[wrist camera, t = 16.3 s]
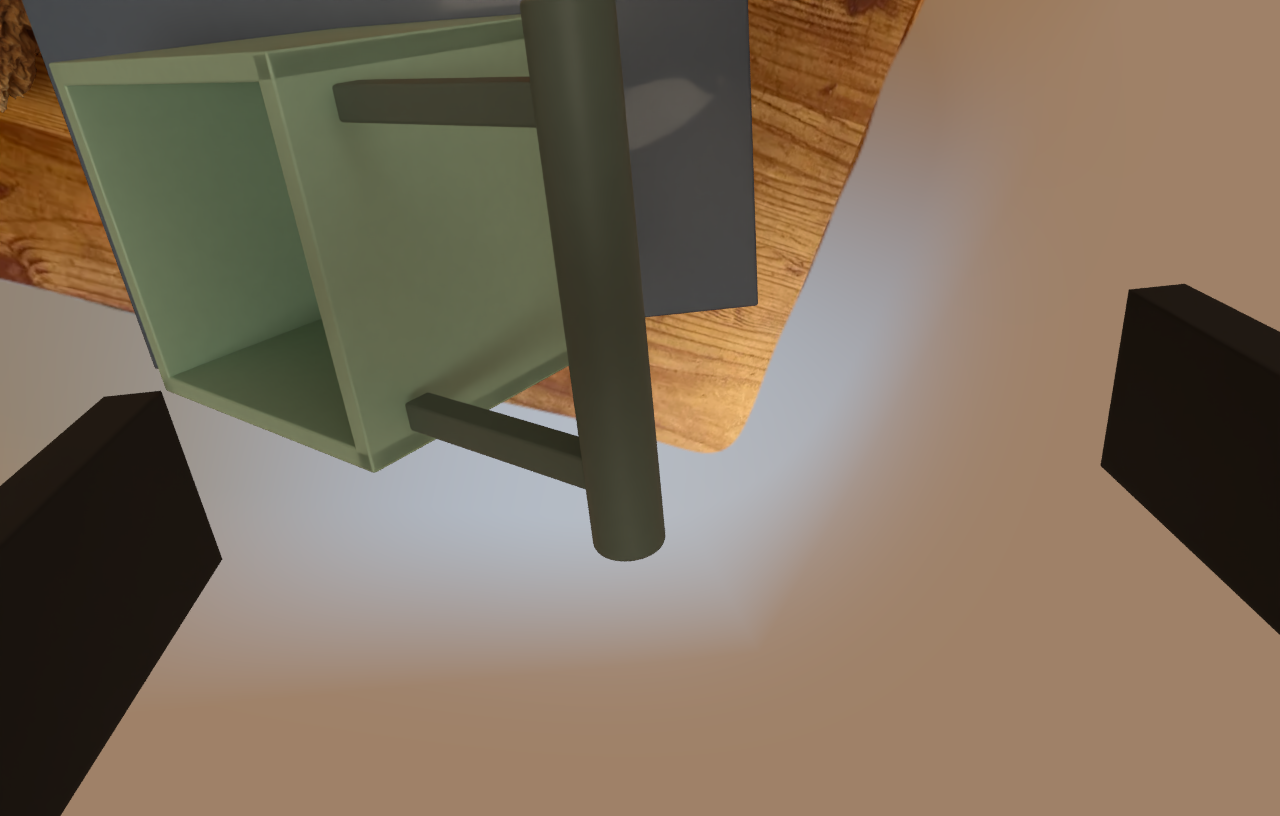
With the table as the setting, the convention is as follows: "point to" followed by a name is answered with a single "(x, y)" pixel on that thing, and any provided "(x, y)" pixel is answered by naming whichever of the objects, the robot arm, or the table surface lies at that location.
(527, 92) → the basket
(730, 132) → the gray rectangular block
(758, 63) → the table surface
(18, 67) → the stuffed squirrel
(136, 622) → the robot arm
